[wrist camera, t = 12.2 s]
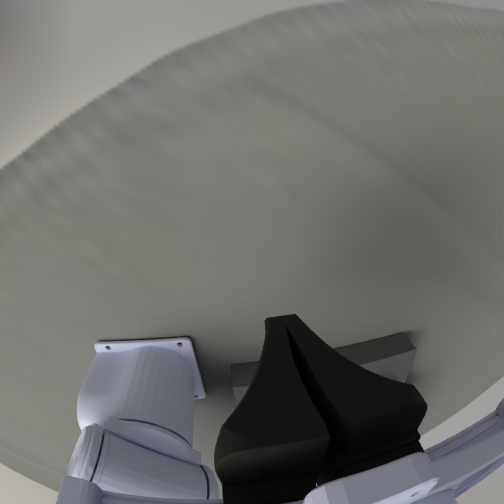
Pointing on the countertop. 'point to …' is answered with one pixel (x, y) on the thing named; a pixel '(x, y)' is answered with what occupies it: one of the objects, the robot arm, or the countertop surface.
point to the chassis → (363, 354)
